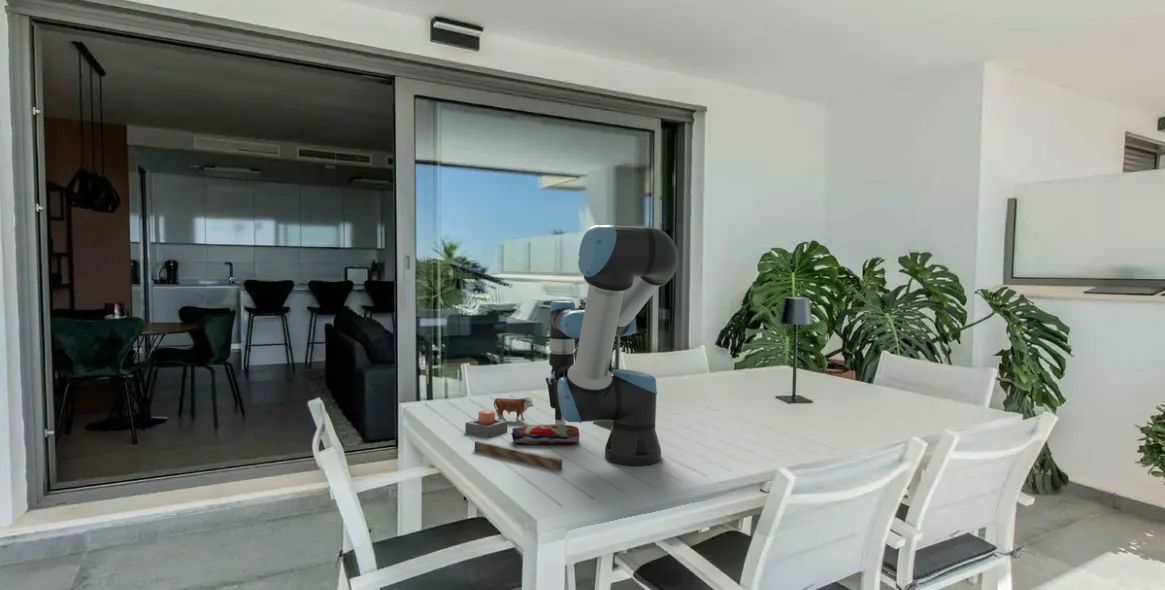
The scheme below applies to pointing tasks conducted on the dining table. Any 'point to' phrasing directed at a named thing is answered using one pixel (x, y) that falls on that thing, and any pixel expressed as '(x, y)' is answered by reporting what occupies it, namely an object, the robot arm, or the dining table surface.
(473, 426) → the button housing
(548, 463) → the rail
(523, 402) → the bull figurine
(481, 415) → the button
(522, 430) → the pencil case
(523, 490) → the dining table surface
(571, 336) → the robot arm
